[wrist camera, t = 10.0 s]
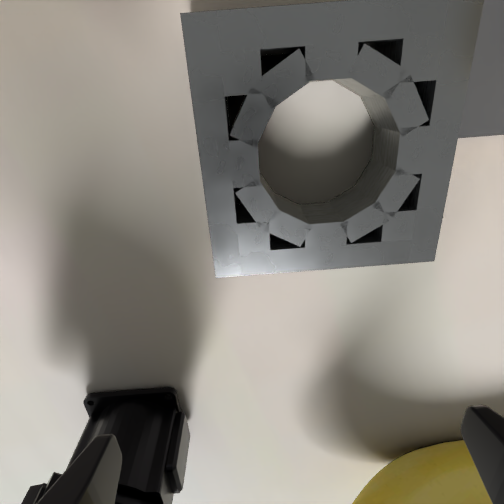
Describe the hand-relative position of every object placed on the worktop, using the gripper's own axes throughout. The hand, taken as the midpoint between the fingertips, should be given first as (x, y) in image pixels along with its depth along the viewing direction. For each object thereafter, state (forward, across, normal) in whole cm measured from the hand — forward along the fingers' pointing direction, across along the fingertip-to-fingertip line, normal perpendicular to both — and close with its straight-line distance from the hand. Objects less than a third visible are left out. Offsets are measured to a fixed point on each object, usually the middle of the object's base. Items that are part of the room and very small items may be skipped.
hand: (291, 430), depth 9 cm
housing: (+12, -3, -5) cm, 13 cm away
